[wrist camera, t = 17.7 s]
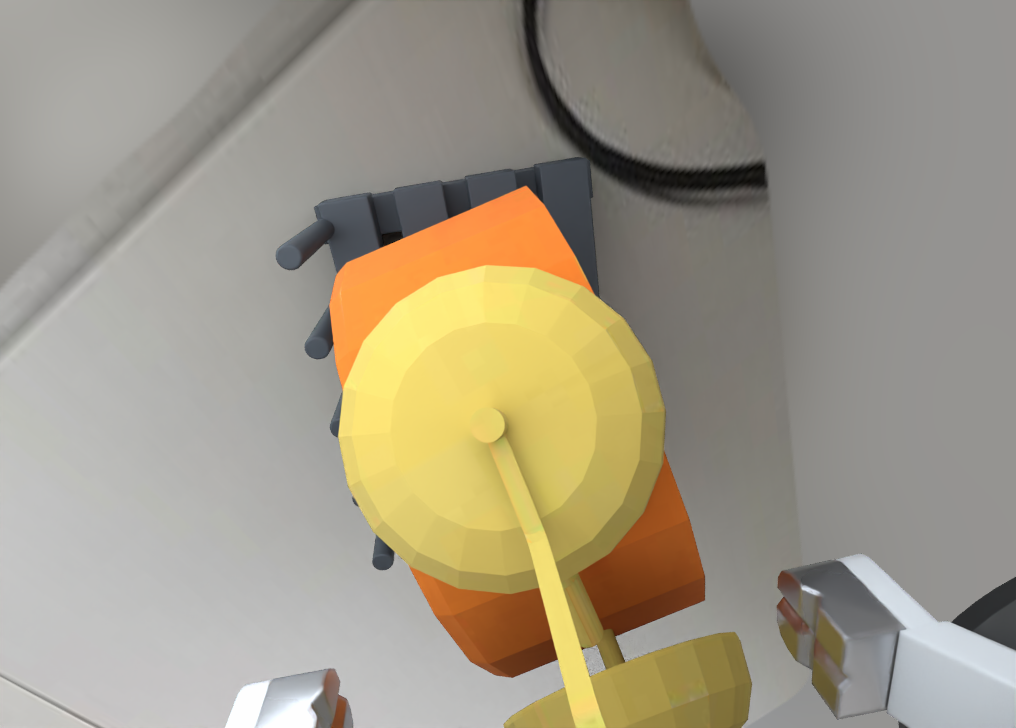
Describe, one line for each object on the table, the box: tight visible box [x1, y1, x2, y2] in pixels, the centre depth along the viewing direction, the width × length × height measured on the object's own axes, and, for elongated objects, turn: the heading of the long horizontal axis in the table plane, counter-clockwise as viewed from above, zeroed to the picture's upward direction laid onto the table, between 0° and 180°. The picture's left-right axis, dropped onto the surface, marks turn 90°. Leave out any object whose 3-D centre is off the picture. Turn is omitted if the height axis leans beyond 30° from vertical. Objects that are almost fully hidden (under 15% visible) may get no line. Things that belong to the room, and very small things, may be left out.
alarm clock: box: [329, 186, 752, 728], centre depth 16 cm, size 13×6×20 cm, turn 22°
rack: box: [276, 157, 600, 570], centre depth 24 cm, size 12×14×9 cm
